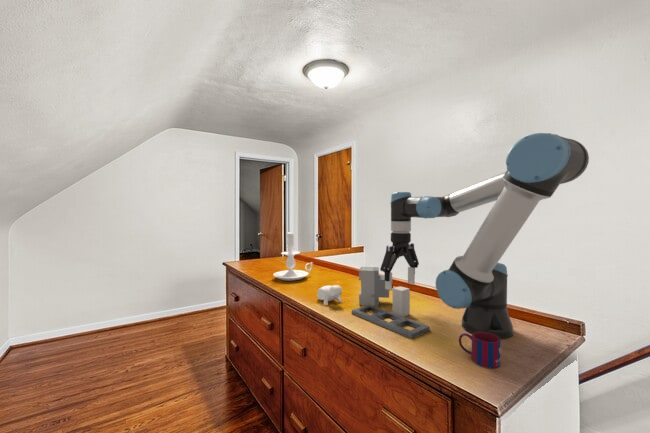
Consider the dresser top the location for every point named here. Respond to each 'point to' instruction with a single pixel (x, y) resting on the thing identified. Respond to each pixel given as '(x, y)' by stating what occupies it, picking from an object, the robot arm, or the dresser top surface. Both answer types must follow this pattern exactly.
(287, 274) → the candlestick
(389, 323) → the board with rectangular holes
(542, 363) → the dresser top surface
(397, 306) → the peg
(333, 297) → the white animal figurine
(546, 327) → the dresser top surface
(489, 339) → the mug
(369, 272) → the circuit breaker
